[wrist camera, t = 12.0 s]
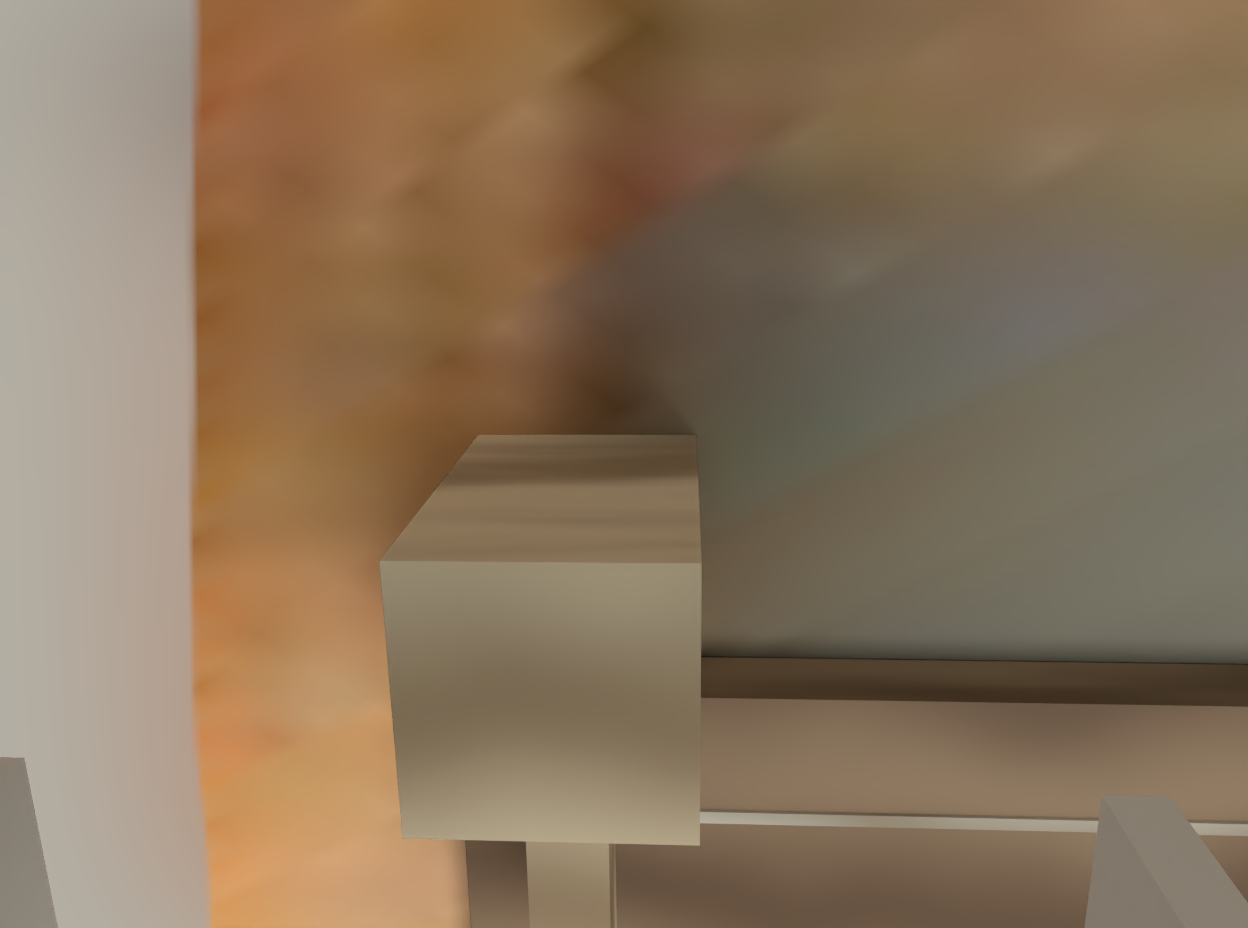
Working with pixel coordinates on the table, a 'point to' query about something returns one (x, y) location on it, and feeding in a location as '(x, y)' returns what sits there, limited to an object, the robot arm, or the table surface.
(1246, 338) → the table surface
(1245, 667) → the board
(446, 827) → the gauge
